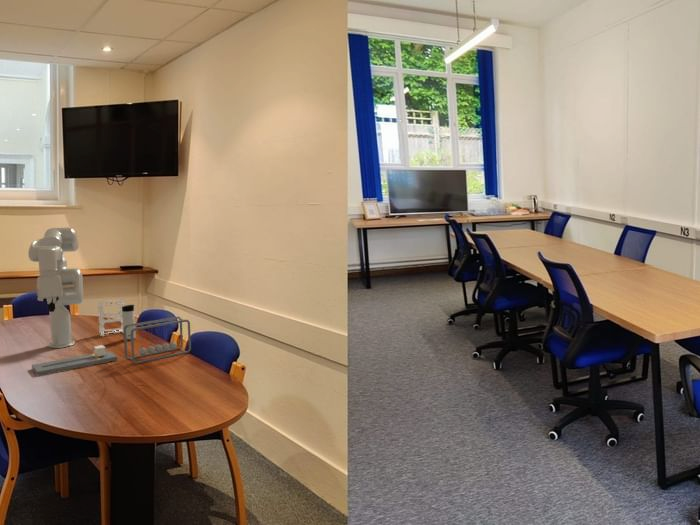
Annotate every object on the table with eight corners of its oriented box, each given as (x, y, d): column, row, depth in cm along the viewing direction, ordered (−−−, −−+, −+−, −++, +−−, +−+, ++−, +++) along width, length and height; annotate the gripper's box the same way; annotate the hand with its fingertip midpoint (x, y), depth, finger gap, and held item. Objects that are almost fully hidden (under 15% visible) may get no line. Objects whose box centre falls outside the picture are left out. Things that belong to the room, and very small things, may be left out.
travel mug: (131, 340, 284) (129, 306, 281) (121, 340, 285) (119, 305, 283) (138, 338, 290) (136, 303, 288) (128, 337, 291) (126, 303, 289)
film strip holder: (124, 329, 311) (122, 297, 308) (127, 334, 299) (125, 300, 297) (98, 332, 303) (96, 299, 301) (100, 337, 291) (98, 303, 289)
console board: (32, 369, 236) (31, 364, 235) (109, 354, 258) (108, 350, 258) (37, 376, 226) (37, 371, 226) (117, 360, 248) (117, 356, 248)
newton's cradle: (132, 365, 241) (130, 329, 239) (124, 360, 249) (122, 325, 247) (191, 352, 262) (190, 319, 260) (182, 348, 269) (181, 315, 267)
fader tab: (94, 354, 250) (93, 346, 249) (102, 353, 252) (102, 345, 252) (97, 357, 246) (96, 348, 245) (105, 355, 249) (105, 347, 248)
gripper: (64, 271, 247) (66, 307, 249) (28, 274, 236) (31, 312, 239) (68, 273, 241) (71, 310, 244) (32, 276, 231) (35, 315, 234)
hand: (51, 311), depth 241 cm, fingers closed
